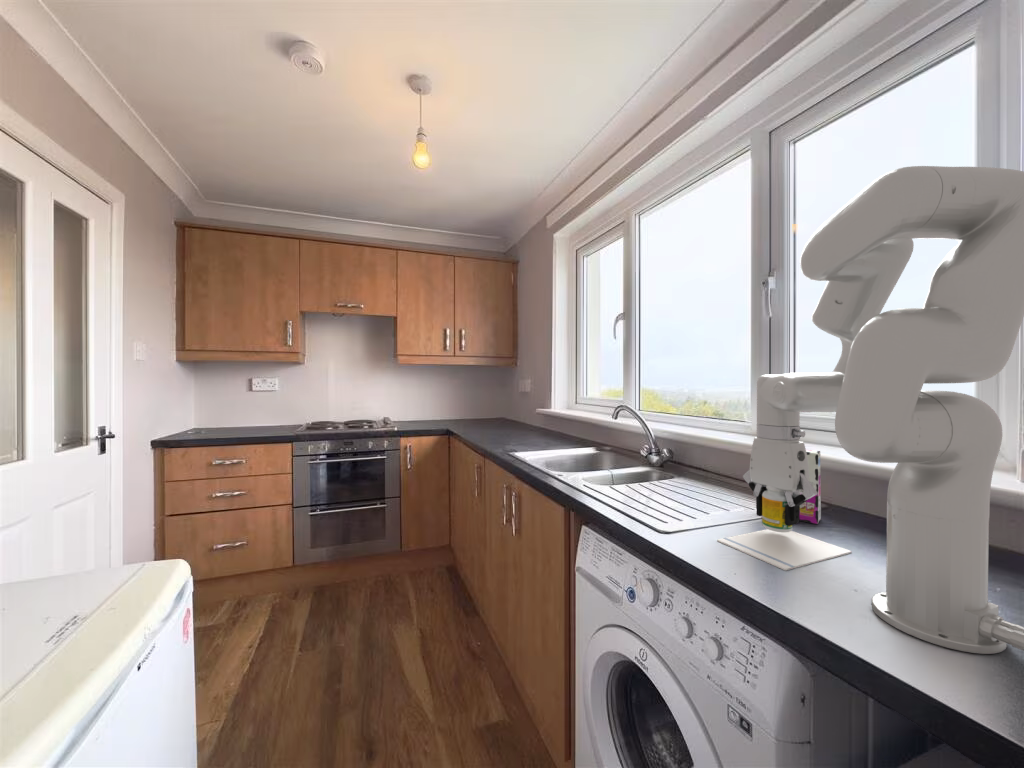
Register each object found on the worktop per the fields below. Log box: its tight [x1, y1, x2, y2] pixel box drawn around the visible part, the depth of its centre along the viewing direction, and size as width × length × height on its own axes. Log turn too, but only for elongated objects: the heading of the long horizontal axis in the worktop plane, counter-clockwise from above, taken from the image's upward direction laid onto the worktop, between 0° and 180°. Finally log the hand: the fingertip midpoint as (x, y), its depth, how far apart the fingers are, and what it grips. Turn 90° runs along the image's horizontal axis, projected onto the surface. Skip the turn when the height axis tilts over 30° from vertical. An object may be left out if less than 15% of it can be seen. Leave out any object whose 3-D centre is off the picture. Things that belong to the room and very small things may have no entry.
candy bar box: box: [798, 449, 822, 525], centre depth 98 cm, size 11×5×16 cm, turn 47°
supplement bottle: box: [761, 486, 793, 532], centre depth 85 cm, size 5×5×10 cm
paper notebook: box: [716, 528, 853, 572], centre depth 81 cm, size 14×19×1 cm
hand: (776, 518), depth 85 cm, fingers closed on supplement bottle, 5 cm apart
